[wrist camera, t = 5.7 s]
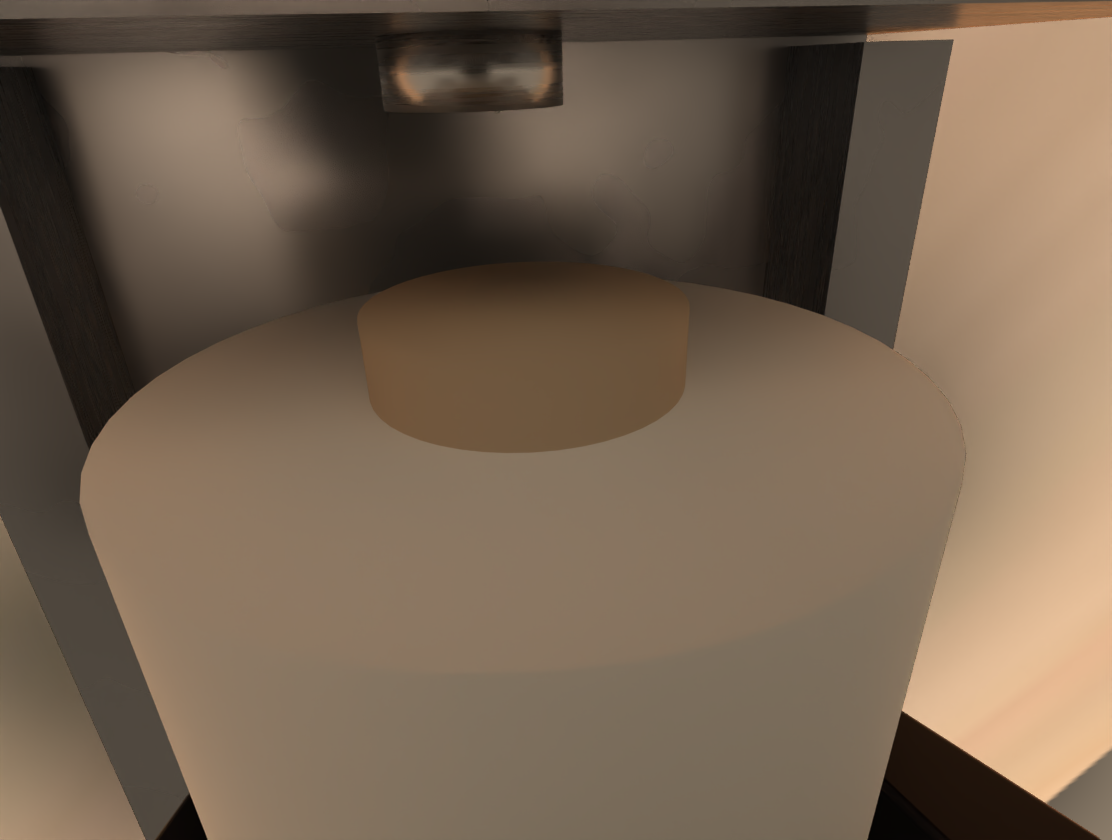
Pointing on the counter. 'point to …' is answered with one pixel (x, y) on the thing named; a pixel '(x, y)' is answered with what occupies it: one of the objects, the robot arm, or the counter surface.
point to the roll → (530, 561)
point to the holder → (410, 201)
